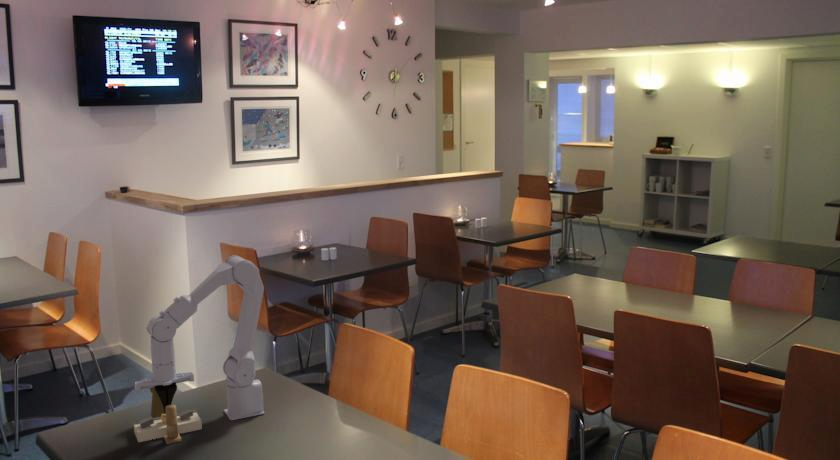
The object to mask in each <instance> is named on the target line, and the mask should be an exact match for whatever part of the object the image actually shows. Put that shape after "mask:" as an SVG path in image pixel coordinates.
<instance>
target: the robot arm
mask: <svg viewBox="0 0 840 460" xmlns="http://www.w3.org/2000/svg"><path fill="white" fill-rule="evenodd" d="M236 284H237V285H238V286H239V287H240V289H241V290H242V291H243V293H242V301H241V305H240V310H239V315H238V322H237V327H236V331H235V335H234V342H233V346H232V348H231V349H230V350H229V352H228V356H227V358H226V360H225V361H224V362H223V365H222V371H223V373H224V374H225V376H226V377H227V379H226V383H225V384H226V397H227V398H226V399H227V400H226V401H227V408H225V409H223V412H224V413H225V415H226V416H227V417H228V419H229V420H230V421H237V420H240V419H246V418H250V417H255V416H259V415H260V416H261V415H264V414H265V409H264V392H263V386H262V382H261V381H260V379H255V378H256V375H257V371H256V369H255V362H256V360H255V359H256V358H255V356H254V352H253V351H254V344H255V340H256V333H257V330H258V329H257V328H258V322H259V319H260V313H261V308H262V303H263V297H264V291H265V286H264V283H263V280H262V277H261V275H260V269H259V268H258V267H257V265H256V264H255V263H254V262H252V261H251V260H248V259H245V258H243V257H241V256H239V255H236V254H234V255H231V256H228V257H227V258H226V259H225V261H222V262H221V263H219V264H218V266H217V267H216V268H215V269H214V270H213V271H212V272H211V273H210V274H209V275H208V276H207V277H206V278H205V279H204V280H203V281H201V282H200V284H199V285H198V286H196V288H194V290H193V291H191V293H190V294H187V295H183V294H182V295H180V296H179V297H178V296H175V298H173V302H172V303H171V304H170V305H169V306H168V307H167V308H165V310H164V311H163V310H161V311H160V312H159V315H155V316H154V317H151V319H149V321H148V324H147V326H146V331H147V333H148V334H149V335H150V354H151V356H150V357H151V369H152V377H149V378H145V379H142V380H138V381H134V389H135V391H136V392H140V391H141V390H142V391H143V390H146V389H150V388H153V387H154V389H155V390H156V392H157V394H158V396H159V398H160V400H161V403H162V406H163V411H164V413H166V409H165V407H166V406H168V405H172V403H173V401H174V400H173V399H174V397H175V395H176V392H177V389H178V386H177V384H181V383H186V382H190V383H191V382H195V375H194V373H193V371H191V372H182V373H181V372H179V373H177V372H176V369H177V368H176V358H175V357H176V355H175V344H174V337H175V335H176V333H177V329H178V328H180V327H181V326H182V325H183V324H185V322H186V321H188V320H189V319H190V318H191V317H192V316H193V315H194V314H195V313H196V312H198V306H199V304H200V303H201V302H203V301H204V300H205V299H206V298H208V297H209V296H210V295H212V294H213V293H214V292H215V291H216V290H218V289H219V288H220V287H221V286H226V285H227V286H228V285H236Z"/></svg>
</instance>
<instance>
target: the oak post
mask: <svg viewBox="0 0 840 460" xmlns="http://www.w3.org/2000/svg"><path fill="white" fill-rule="evenodd" d="M165 409H166V424H167V436H164V437H163V438H164V440H165V441H164V442H165V443H166V445H171V444H175V443H179V442H182V437H181V435H180V434H179V433H178V427H177V413H178V412H177V405H176V404H171V405H168V406H166V407H165Z"/></svg>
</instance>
